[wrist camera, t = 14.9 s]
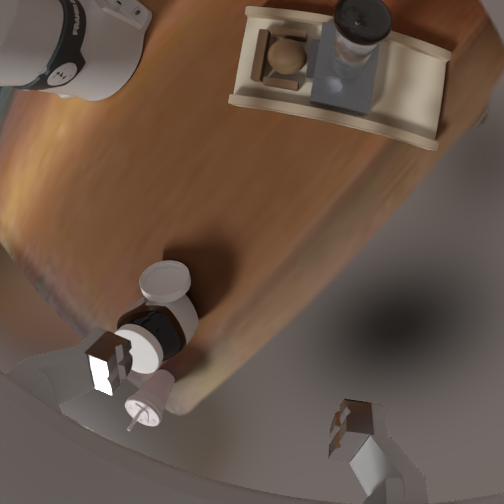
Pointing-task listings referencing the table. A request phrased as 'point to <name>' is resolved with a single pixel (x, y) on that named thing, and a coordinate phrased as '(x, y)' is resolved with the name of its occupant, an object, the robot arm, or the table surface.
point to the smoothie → (150, 399)
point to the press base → (385, 85)
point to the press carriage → (348, 55)
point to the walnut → (287, 56)
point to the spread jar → (159, 316)
